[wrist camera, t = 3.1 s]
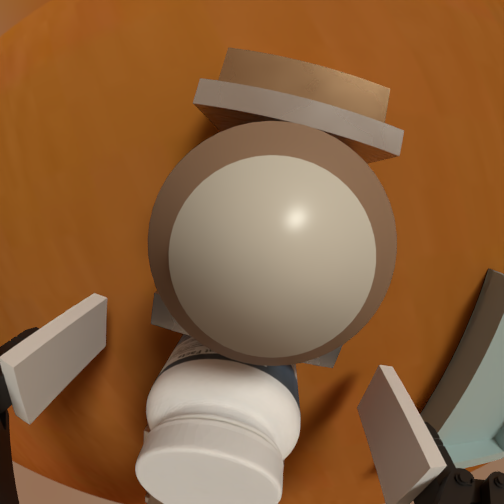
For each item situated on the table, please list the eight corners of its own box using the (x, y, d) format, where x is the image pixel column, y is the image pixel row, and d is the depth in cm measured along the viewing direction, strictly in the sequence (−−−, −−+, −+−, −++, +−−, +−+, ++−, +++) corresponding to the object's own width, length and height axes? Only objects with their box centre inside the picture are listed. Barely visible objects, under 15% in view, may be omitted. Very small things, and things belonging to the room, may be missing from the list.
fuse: (210, 252, 14) (119, 349, 5) (233, 151, 13) (162, 88, 4) (309, 276, 14) (357, 405, 5) (336, 177, 13) (443, 162, 4)
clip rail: (165, 464, 17) (146, 513, 12) (237, 75, 12) (219, 21, 7) (244, 483, 17) (237, 536, 12) (366, 108, 12) (411, 71, 7)
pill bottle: (287, 388, 15) (290, 533, 6) (191, 379, 15) (135, 511, 7) (298, 297, 14) (326, 443, 5) (187, 289, 14) (91, 409, 5)
